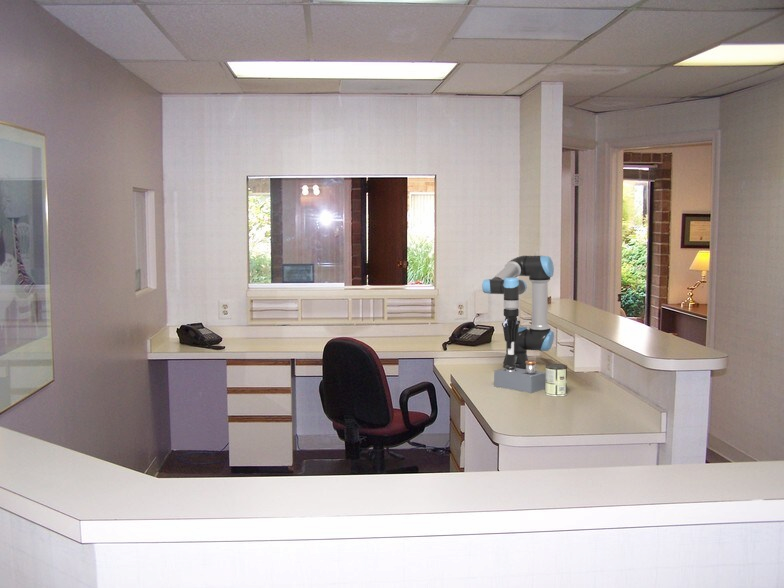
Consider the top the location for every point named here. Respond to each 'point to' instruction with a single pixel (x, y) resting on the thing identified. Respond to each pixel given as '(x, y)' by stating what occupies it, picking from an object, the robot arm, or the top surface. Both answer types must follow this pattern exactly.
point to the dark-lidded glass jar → (510, 368)
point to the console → (519, 380)
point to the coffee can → (556, 380)
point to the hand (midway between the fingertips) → (510, 354)
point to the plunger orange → (530, 367)
